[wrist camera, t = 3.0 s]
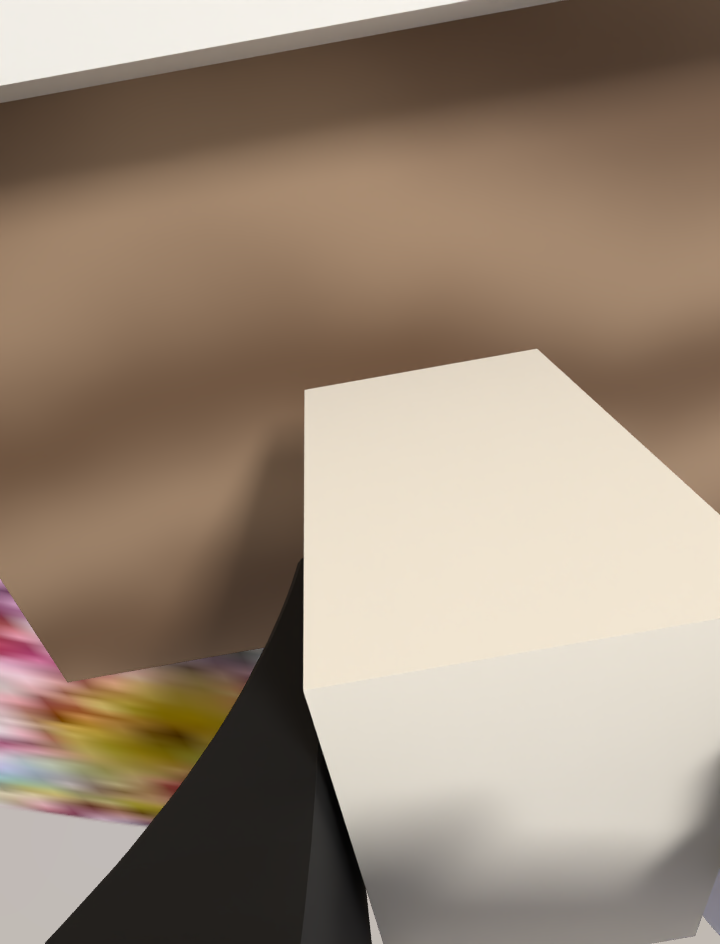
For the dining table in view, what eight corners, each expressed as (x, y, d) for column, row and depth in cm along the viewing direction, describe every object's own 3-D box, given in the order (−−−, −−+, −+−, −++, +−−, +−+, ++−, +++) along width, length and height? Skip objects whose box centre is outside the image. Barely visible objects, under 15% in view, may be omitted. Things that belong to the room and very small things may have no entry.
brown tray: (719, 539, 19) (789, 607, 16) (80, 653, 19) (42, 739, 16) (868, -113, 11) (1059, -198, 8) (-259, 92, 11) (-448, 78, 8)
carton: (359, 638, 15) (396, 986, 9) (304, 390, 11) (303, 690, 5) (538, 607, 15) (701, 934, 9) (541, 347, 11) (827, 599, 5)
